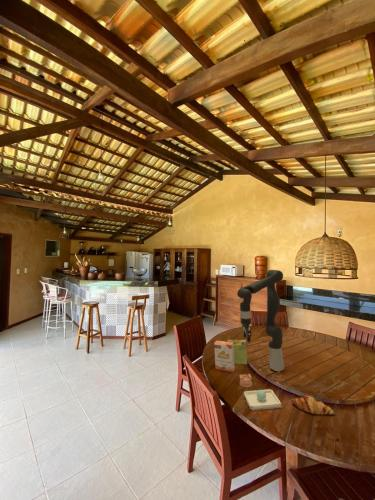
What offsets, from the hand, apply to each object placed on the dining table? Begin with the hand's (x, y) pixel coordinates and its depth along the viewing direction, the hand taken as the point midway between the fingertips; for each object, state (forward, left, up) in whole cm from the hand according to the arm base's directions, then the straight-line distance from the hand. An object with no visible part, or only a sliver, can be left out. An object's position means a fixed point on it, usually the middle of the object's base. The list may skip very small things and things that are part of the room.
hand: (247, 339), depth 162 cm
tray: (0, +24, -28) cm, 37 cm away
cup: (+4, +5, -28) cm, 29 cm away
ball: (0, +24, -24) cm, 34 cm away
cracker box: (+14, -16, -28) cm, 35 cm away
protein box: (+1, -28, -28) cm, 40 cm away
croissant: (-25, +34, -29) cm, 51 cm away
